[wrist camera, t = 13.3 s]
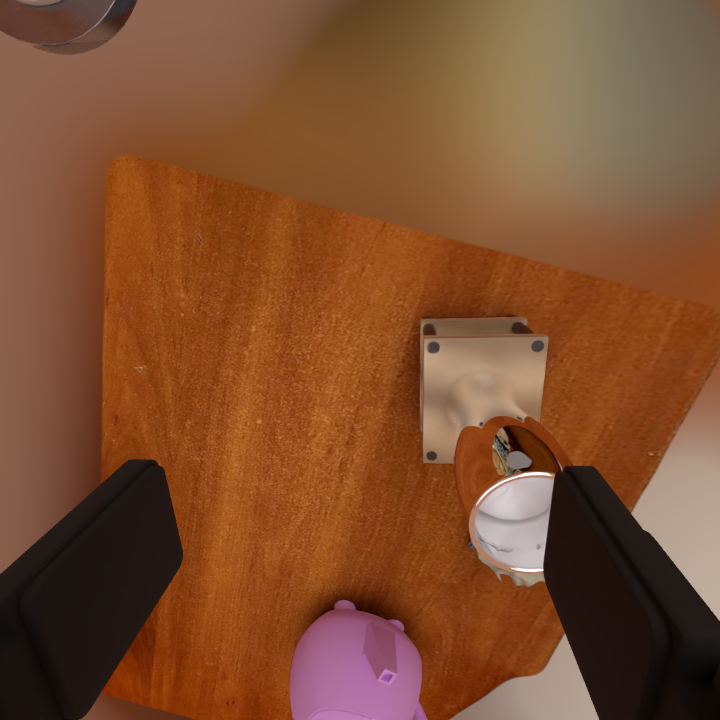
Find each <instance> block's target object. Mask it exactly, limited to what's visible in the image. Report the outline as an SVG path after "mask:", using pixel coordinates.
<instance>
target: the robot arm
mask: <svg viewBox="0 0 720 720" xmlns="http://www.w3.org/2000/svg"><path fill="white" fill-rule="evenodd" d="M16 1H19V2H21V3H24V4H29V5H34V6H41V5H50V4H53V3H56V2H60V1H61V0H16ZM182 559H183V550H182V545H181V541H180V537H179V532H178V528H177V523H176V519H175V515H174V510H173V506H172V502H171V497H170V493H169V488H168V484H167V480H166V475H165V471H164V469H163V467H162V466H159V465H158V463H157V462H156V461H155V460H139V459H132V460H128V461H127V462H125V463H124V464H123V465H122V466H121V467H120V468H119V469H118V470H116V471H115V472H114V473H113V474H112V475H111V476H110V477H109V478H108V479H106V480H105V481H104V482H103V483H102V484H101V485H100V486H99V487H97V488H96V489H95V490H94V491H93V492H92V493H91V494H90V495H88V496H87V497H86V498H85V499H84V500H83V501H82V502H81V503H80V504H78V505H77V506H76V507H75V508H74V509H73V510H72V511H71V512H70V513H68V514H67V515H66V516H65V517H64V518H63V519H62V520H61V521H59V522H58V523H57V524H56V525H55V526H54V527H53V528H52V529H50V530H49V531H48V532H47V533H46V534H45V535H44V536H43V537H41V538H40V539H39V540H38V541H37V542H36V543H35V544H34V545H32V546H31V547H30V548H29V549H28V550H27V551H26V552H25V553H24V554H22V555H21V556H20V557H19V558H18V559H17V560H16V561H15V562H13V563H12V564H11V565H10V566H9V567H8V568H7V569H6V570H4V571H3V572H2V573H1V574H0V720H79V719H81V718H83V717H84V716H85V715H86V714H87V713H88V712H89V710H90V709H91V707H92V706H93V704H94V702H95V701H96V699H97V698H98V696H99V694H100V693H101V691H102V690H103V688H104V687H105V685H106V684H107V682H108V680H109V679H110V677H111V676H112V674H113V672H114V671H115V669H116V668H117V666H118V664H119V663H120V661H121V660H122V658H123V657H124V655H125V653H126V652H127V650H128V649H129V647H130V645H131V644H132V642H133V641H134V639H135V638H136V636H137V634H138V633H139V631H140V630H141V628H142V626H143V625H144V623H145V622H146V620H147V618H148V617H149V615H150V614H151V612H152V611H153V609H154V607H155V606H156V604H157V603H158V601H159V599H160V598H161V596H162V595H163V593H164V591H165V590H166V588H167V587H168V585H169V584H170V582H171V580H172V579H173V577H174V576H175V574H176V572H177V571H178V569H179V567H180V566H181V563H182ZM543 574H544V579H545V583H546V586H547V588H548V591H549V593H550V596H551V598H552V601H553V603H554V606H555V608H556V611H557V613H558V616H559V618H560V621H561V624H562V626H563V629H564V631H565V634H566V636H567V639H568V641H569V644H570V646H571V649H572V651H573V654H574V656H575V659H576V661H577V664H578V666H579V669H580V672H581V674H582V677H583V679H584V682H585V684H586V687H587V689H588V692H589V694H590V697H591V700H592V702H593V705H594V707H595V710H596V712H597V715H598V717H599V720H720V621H719V620H718V619H717V617H716V616H715V615H714V614H713V612H712V611H711V610H710V608H709V607H708V606H707V605H706V603H705V602H704V601H703V599H702V598H701V597H700V596H699V595H698V593H697V592H696V591H695V589H694V588H693V587H692V585H691V584H690V583H689V582H688V580H687V579H686V578H685V577H684V575H683V574H682V573H681V572H680V570H679V569H678V568H677V567H676V565H675V564H674V563H673V561H672V560H671V559H670V558H669V556H668V555H667V554H666V552H665V551H664V550H663V549H662V547H661V546H660V545H659V544H658V542H657V541H656V540H655V539H654V537H652V536H651V534H650V533H648V532H647V531H645V530H643V529H642V527H641V526H640V525H639V524H638V522H637V521H636V520H635V518H634V517H633V516H632V515H631V513H630V512H629V511H628V509H627V508H626V507H625V505H624V504H623V503H622V502H621V500H620V499H619V498H618V496H617V495H616V494H615V493H614V491H613V490H612V489H611V487H610V486H609V485H608V484H607V482H606V481H605V480H604V478H603V477H602V476H601V474H600V473H599V472H598V471H597V469H596V468H594V467H592V466H565V467H564V469H563V471H562V472H557V473H556V474H555V477H554V484H553V492H552V499H551V507H550V515H549V523H548V531H547V538H546V546H545V554H544V562H543Z"/></svg>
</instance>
